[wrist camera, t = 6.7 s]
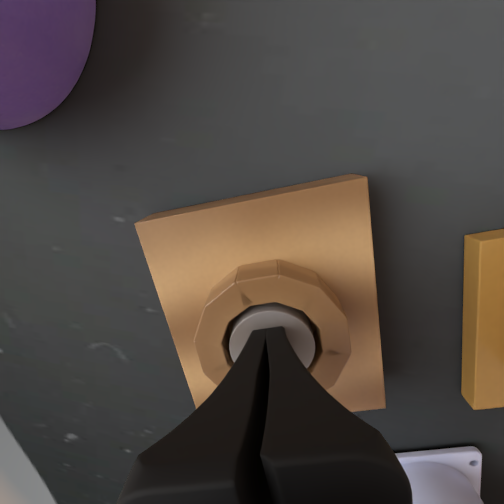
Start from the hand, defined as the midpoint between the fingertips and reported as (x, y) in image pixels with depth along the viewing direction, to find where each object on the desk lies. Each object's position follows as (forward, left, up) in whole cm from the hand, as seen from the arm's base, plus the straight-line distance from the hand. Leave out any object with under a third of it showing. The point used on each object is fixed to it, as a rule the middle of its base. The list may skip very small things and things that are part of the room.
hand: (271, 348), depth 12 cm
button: (0, 0, -2) cm, 2 cm away
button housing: (0, 0, -4) cm, 4 cm away
